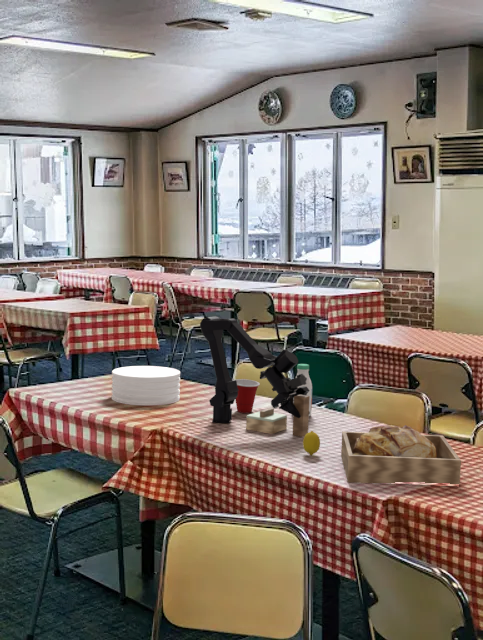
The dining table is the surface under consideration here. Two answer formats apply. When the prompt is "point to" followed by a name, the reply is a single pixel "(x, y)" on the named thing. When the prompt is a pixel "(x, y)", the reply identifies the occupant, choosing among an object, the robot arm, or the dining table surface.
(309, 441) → the lemon
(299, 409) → the tan rectangular bar
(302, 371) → the milk bottle
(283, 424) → the open wooden box
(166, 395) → the plate stack
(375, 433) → the bread
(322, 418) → the dining table surface
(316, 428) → the dining table surface
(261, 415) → the lid
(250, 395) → the plastic cup
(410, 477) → the bread crate
